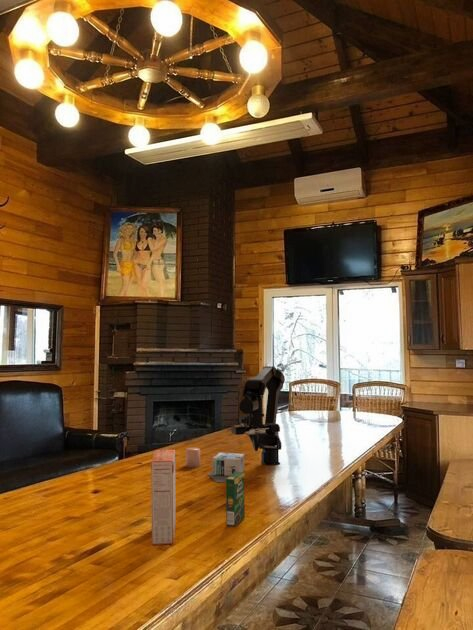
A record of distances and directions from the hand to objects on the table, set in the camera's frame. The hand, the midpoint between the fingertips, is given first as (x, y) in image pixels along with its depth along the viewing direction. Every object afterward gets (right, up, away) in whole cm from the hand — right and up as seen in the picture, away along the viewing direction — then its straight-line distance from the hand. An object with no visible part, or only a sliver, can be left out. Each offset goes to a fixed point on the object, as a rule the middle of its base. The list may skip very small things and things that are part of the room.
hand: (255, 450), depth 192 cm
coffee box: (-8, -5, -54) cm, 55 cm away
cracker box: (-27, -5, -63) cm, 69 cm away
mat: (-12, -8, -6) cm, 16 cm away
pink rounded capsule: (-26, -10, +12) cm, 30 cm away
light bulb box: (-5, -5, -2) cm, 8 cm away
